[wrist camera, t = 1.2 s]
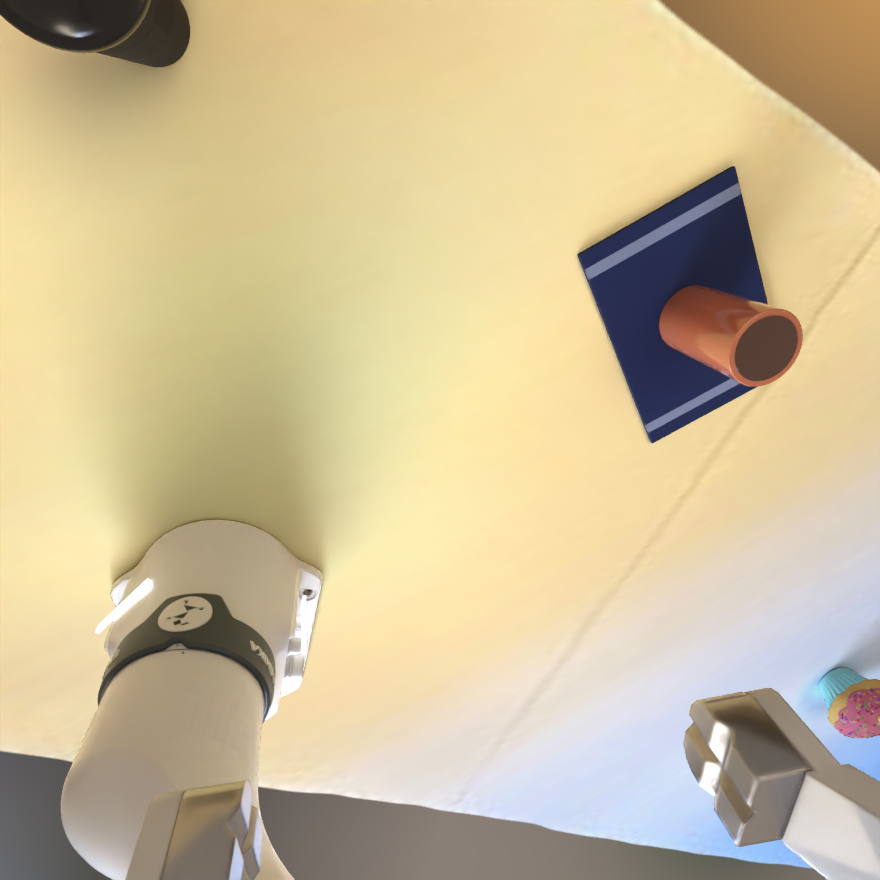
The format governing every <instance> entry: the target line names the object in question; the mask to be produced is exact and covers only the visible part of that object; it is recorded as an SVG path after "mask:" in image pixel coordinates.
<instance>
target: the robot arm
mask: <svg viewBox="0 0 880 880" xmlns="http://www.w3.org/2000/svg"><path fill="white" fill-rule="evenodd" d="M322 580H323V576H322V573H321V572H320V571H319V570H318V569H317V568H315V567H313V566H311V565H309V564H307V563H305V562H303V561H300V560H298V559H297V558H295V557H294V556H293V555H292V554H291V553H290V552H289V551H288V550H287V549H286V548H285V547H284V546H283V545H282V544H281V543H280V542H279V541H278V540H277V539H275V538H274V537H273V536H271V535H270V534H268V533H266V532H265V531H263V530H261V529H259V528H256V527H254V526H251V525H248V524H245V523H241V522H236V521H230V520H204V521H197V522H193V523H189V524H186V525H183V526H180V527H178V528H175V529H173V530H171V531H170V532H168V533H166V534H165V535H163V536H162V537H160V538H159V539H158V540H157V541H156V542H155V543H154V544H153V545H152V546H151V547H150V548H149V550H148V551H147V552H146V554H145V556H144V557H143V559H142V560H141V562H140V563H139V564H138V566H137V567H136V568H134V569H132V570H131V571H129V572H127V573H126V574H124V575H123V576H121V577H120V578H119V579H117V580H116V581H115V583H114V584H113V587H112V590H111V598H112V600H113V602H114V604H115V606H116V609H115V610H114V611H113V612H112V613H111V614H110V615H109V616H107V617H106V618H105V619H104V620H103V621H102V622H101V623H100V624H99V625H98V627H97V629H96V631H95V632H96V633H98V634H99V633H100V632H101V631H102V630H103V629H104V628H105V627H106V626H107V625H108V624H109V623H110V622H111V621H112V620H113V621H112V624H111V627H110V629H109V632H108V635H107V637H106V640H105V645H104V648H105V651H107V652H108V653H109V656H110V659H111V660H110V661H109V663H108V666H107V668H106V670H105V673H104V676H103V681H102V684H101V687H100V690H99V694H98V708H97V711H96V713H95V715H94V717H93V719H92V722H91V724H90V726H89V728H88V730H87V733H86V735H85V737H84V739H83V742H82V744H81V746H80V748H79V750H78V753H77V755H76V757H75V759H74V762H73V764H72V766H71V768H70V770H69V773H68V775H67V777H66V780H65V782H64V786H63V792H62V798H61V816H62V823H63V827H64V830H65V832H66V835H67V838H68V839H69V841H70V843H71V844H72V846H73V847H74V848H75V849H76V851H77V852H78V853H79V854H80V855H81V856H82V857H83V858H84V859H85V861H87V863H89V864H90V865H91V866H92V867H93V868H95V869H96V870H98V871H99V872H101V873H102V874H104V875H106V876H107V877H109V878H111V879H113V880H295V879H294V878H293V877H292V876H291V875H290V873H289V872H288V871H287V869H286V868H285V866H284V865H283V864H282V862H281V861H280V859H279V858H278V856H277V854H276V852H275V850H274V849H273V847H272V845H271V843H270V840H269V838H268V836H267V833H266V831H265V828H264V825H263V822H262V818H261V814H260V808H259V801H258V767H259V749H260V738H261V729H262V724H263V722H264V721H265V720H267V719H269V718H270V717H272V716H273V715H274V714H275V713H276V712H277V711H278V707H279V701H280V697H282V696H284V695H287V694H289V693H291V692H292V691H294V690H296V689H297V688H299V687H300V685H301V682H302V677H303V672H304V668H305V663H306V658H307V653H308V648H309V643H310V639H311V634H312V629H313V624H314V619H315V614H316V610H317V605H318V600H319V595H320V590H321V585H322ZM305 589H310V591H305ZM689 715H690V717H691V718H692V720H693V721H694V723H693V724H692V725H691V726H690V727H689V728H688V729H687V730H686V732H685V739H684V748H685V753H686V758H687V761H688V764H689V766H690V768H691V771H692V773H693V775H694V776H695V778H696V780H697V782H698V783H699V785H700V786H701V787H703V788H704V789H706V790H707V791H709V792H710V793H712V794H713V795H714V796H715V800H714V810H715V812H716V813H717V815H718V817H719V818H720V820H721V822H722V823H723V825H724V827H725V828H726V830H727V832H728V833H729V835H730V837H731V838H732V840H733V842H734V843H735V845H736V847H741V846H747V845H753V844H758V843H764V842H769V841H775V840H781V839H783V840H782V843H783V844H785V845H786V846H787V847H788V848H789V849H791V850H792V851H793V852H794V853H796V854H797V855H798V856H799V857H801V858H802V859H803V860H804V861H805V862H807V863H808V864H809V865H810V866H812V867H813V868H814V869H815V870H816V871H818V872H819V873H820V874H821V875H823V876H824V877H825V878H826V879H828V880H880V782H879V781H878V780H876V779H874V778H872V777H871V776H869V775H867V774H865V773H864V772H862V771H860V770H858V769H857V768H855V767H853V766H851V765H850V764H845V765H840V763H839V762H838V761H837V760H836V759H835V758H834V756H833V755H832V754H831V753H830V752H829V751H828V750H827V748H826V747H825V746H824V745H823V744H822V743H821V741H820V740H819V739H818V738H817V737H816V736H815V735H814V733H813V732H812V731H811V730H810V729H809V728H808V726H807V725H806V724H805V723H804V722H803V721H802V720H801V718H800V717H799V716H798V715H797V714H796V713H795V711H794V710H793V709H792V708H791V707H790V706H789V705H788V703H787V702H786V701H785V700H784V699H783V698H782V696H781V695H780V694H779V693H778V692H776V691H775V690H773V689H772V688H763V689H758V690H754V691H749V692H744V693H743V692H738V693H733V694H728V695H723V696H717V697H712V698H707V699H702V700H697V701H695V702H694V703H693V704H692V705H691V709H690V713H689Z"/></svg>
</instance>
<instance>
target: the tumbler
mask: <svg viewBox="0 0 880 880" xmlns="http://www.w3.org/2000/svg"><path fill="white" fill-rule="evenodd" d="M659 329H660V334H661V336H662V339H663V340H664V342H665V343H666V344H667V345H668V346H670V347H671V348H673V349H675V350H677V351H679V352H681V353H683V354H685V355H687V356H689V357H690V358H692V359H694V360H696V361H698V362H700V363H702V364H704V365H706V366H708V367H710V368H712V369H714V370H716V371H718V372H720V373H722V374H724V375H726V376H728V377H729V378H731V379H733V380H735V381H737V382H739V383H741V384H744V385H747V386H762V385H766V384H769V383H771V382H773V381H775V380H777V379H778V378H780V377H781V376H782V375H783V374H785V373H786V372H787V371H788V370H789V368H790V367H791V366H792V365H793V363H794V362H795V360H796V358H797V356H798V354H799V352H800V349H801V346H802V340H803V333H802V328H801V325H800V322H799V321H798V319H797V318H796V317H795V316H794V315H793V314H792V313H791V312H789V311H787V310H784V309H780V308H777V307H774V306H770V305H767V304H763V303H760V302H757V301H753V300H750V299H747V298H743V297H740V296H737V295H733V294H730V293H727V292H723V291H720V290H717V289H713V288H710V287H707V286H703V285H692V286H688V287H685V288H683V289H681V290H679V291H678V292H676V293H675V294H674V295H673V296H672V297H671V298H670V299H669V300H668V301H667V303H666V304H665V306H664V308H663V310H662V313H661V316H660V321H659Z"/></svg>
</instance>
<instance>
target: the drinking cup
mask: <svg viewBox="0 0 880 880" xmlns="http://www.w3.org/2000/svg"><path fill="white" fill-rule="evenodd" d="M0 15H1V16H2V17H3V18H4V19H5V20H6V21H8V22H9V23H10V24H11V25H13V26H14V27H15V28H17V29H18V30H19V31H21V32H22V33H24V34H25V35H27V36H29V37H31V38H32V39H34V40H36V41H38V42H40V43H42V44H45V45H47V46H50V47H53V48H56V49H59V50H63V51H68V52H74V53H93V52H96V53H100V54H104V55H108V56H112V57H116V58H120V59H124V60H128V61H132V62H136V63H140V64H144V65H147V66H152V67H164V66H168V65H171V64H173V63H175V62H176V61H177V60H179V59H180V58H181V56H182V55H183V54H184V52H185V50H186V48H187V46H188V43H189V37H190V25H189V20H188V16H187V13H186V10H185V8H184V6H183V4H182V2H181V0H0Z"/></svg>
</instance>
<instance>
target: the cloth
mask: <svg viewBox="0 0 880 880" xmlns="http://www.w3.org/2000/svg"><path fill="white" fill-rule="evenodd" d="M578 257H579V259H580V262H581V264H582V267H583V270H584V272H585V275H586V277H587V280H588V282H589V285H590V288H591V290H592V293H593V295H594V298H595V300H596V303H597V306H598V308H599V311H600V313H601V316H602V318H603V321H604V324H605V326H606V329H607V331H608V334H609V336H610V339H611V342H612V344H613V347H614V349H615V352H616V354H617V357H618V360H619V362H620V365H621V367H622V370H623V373H624V375H625V378H626V380H627V383H628V385H629V388H630V391H631V393H632V396H633V398H634V401H635V403H636V406H637V409H638V411H639V414H640V416H641V419H642V421H643V424H644V427H645V429H646V432H647V434H648V437H649V439H650V442H651V443H654V442H656V441H658V440H659V439H661V438H663V437H665V436H667V435H669V434H670V433H672V432H674V431H676V430H678V429H680V428H682V427H683V426H685V425H687V424H689V423H691V422H693V421H695V420H696V419H698V418H700V417H702V416H704V415H706V414H708V413H709V412H711V411H713V410H715V409H717V408H719V407H721V406H722V405H724V404H726V403H728V402H730V401H732V400H733V399H735V398H737V397H739V396H741V395H743V394H745V393H746V392H748V391H750V390H752V389H754V388H756V387H758V386H747V385H744V384H741V383H739V382H737V381H735V380H733V379H731V378H729V377H728V376H726V375H724V374H722V373H720V372H718V371H716V370H714V369H712V368H710V367H708V366H706V365H704V364H702V363H700V362H698V361H696V360H694V359H692V358H690V357H689V356H687V355H685V354H683V353H681V352H679V351H677V350H675V349H673V348H671V347H670V346H668V345H667V344H666V343H665V342H664V340H663V339H662V336H661V334H660V329H659V321H660V316H661V313H662V310H663V308H664V306H665V304H666V303H667V301H668V300H669V299H670V298H671V297H672V296H673V295H674V294H675V293H676V292H678V291H679V290H681V289H683V288H685V287H688V286H692V285H703V286H707V287H710V288H713V289H717V290H720V291H723V292H727V293H730V294H733V295H737V296H740V297H743V298H747V299H750V300H753V301H757V302H760V303H763V304H767V305H768V303H767V299H766V295H765V291H764V286H763V282H762V278H761V274H760V270H759V265H758V261H757V257H756V253H755V249H754V244H753V240H752V236H751V232H750V228H749V223H748V219H747V215H746V211H745V207H744V202H743V198H742V194H741V189H740V185H739V181H738V177H737V173H736V169H735V166H732V167H730V168H728V169H727V170H725V171H723V172H721V173H720V174H718V175H716V176H714V177H713V178H711V179H709V180H707V181H706V182H704V183H702V184H700V185H699V186H697V187H695V188H693V189H692V190H690V191H688V192H686V193H685V194H683V195H681V196H679V197H678V198H676V199H674V200H672V201H670V202H669V203H667V204H665V205H663V206H662V207H660V208H658V209H656V210H655V211H653V212H651V213H649V214H648V215H646V216H644V217H642V218H641V219H639V220H637V221H635V222H634V223H632V224H630V225H628V226H627V227H625V228H623V229H621V230H620V231H618V232H616V233H614V234H613V235H611V236H609V237H607V238H606V239H604V240H602V241H600V242H598V243H597V244H595V245H593V246H591V247H590V248H588V249H586V250H584V251H583V252H581V253H579V254H578Z"/></svg>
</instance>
